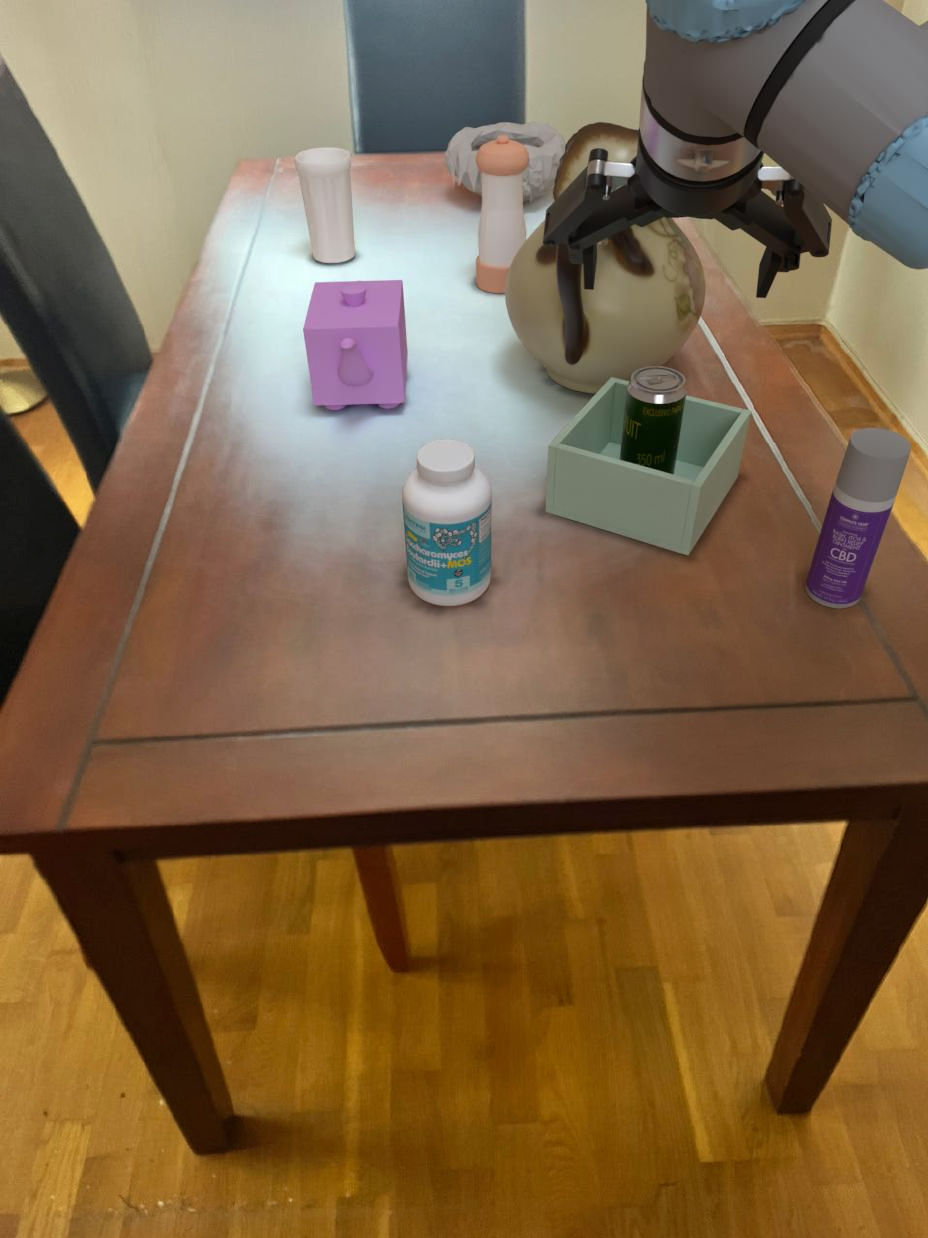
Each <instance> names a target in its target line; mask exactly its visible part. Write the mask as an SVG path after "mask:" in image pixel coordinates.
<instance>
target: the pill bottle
mask: <svg viewBox="0 0 928 1238" xmlns="http://www.w3.org/2000/svg"><path fill="white" fill-rule="evenodd" d="M401 488H402V489H401V490H402V491H401V499H402V501H401V502H402V513H403V514H402V515H403V527H404V541H405V542H404V543H405V554H406V556H405V557H406V571H407V572H406V573H407V581H408V585H409V587H410V589H411V591H412V592H413V593H414V595H416V596H417V597H418V598H419V599H421V600H423V601H424V602H427V603H429V604H431V605H436V606H443V607H456V606H462V605H465V604H468V603H471V602H473V601H475V600H477V599H479V597H481V596H482V595H483V594H484V593H485V592H486V591H487V589H488V588H489V585H490V583H491V578H492V511H493V509H492V508H493V507H492V505H493V504H492V503H493V501H492V500H493V499H492V496H493V493H492V484H491V482H490V480H489V477H488V476H487V475H486V474H485V472H484V471H483V470H482V469H480V468H479V467H478V466H477V465H476V454H475V451H474V449H473V448H472V447H471V445H469V444H468V443H466V442H464V441H461V440H458V439H452V438H441V439H434V440H431V441H429V442H427V443H425V444H423V445H422V446H420V448H419V449H418V450H417V453H416V467H415V468H414V469H413V470H412V471H411V472H410V473H408V476H407V477H406V478H405V480H404V482H403V485H402V487H401Z"/></svg>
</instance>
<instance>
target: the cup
mask: <svg viewBox="0 0 928 1238" xmlns="http://www.w3.org/2000/svg"><path fill="white" fill-rule="evenodd" d="M293 162H294V166H295V170H296V171H297V175H298V180H299V185H300V190H301V197H302V202H303V205H304V206H303V208H304V212H305V218H306V223H307V224H306V225H307V229H308V234H309V240H310V246H311V250H312V256H313V258H314V260H316V261H318V262H320V263H326V264H336V263H337V264H338V263H342V262H343V263H344V262H347V261H349V260H352V259H353V258H354V257H355V255H356V248H355V231H354V230H355V229H354V228H355V227H354V209H353V191H352V175H351V167H352V153H351V152H350V151H348V150H347V149H344V148H341V147H333V146H331V147H329V146H328V147H327V146H324V147H314V148H307V149H305V150H302V151H299V152H298V153H297V154H295V156H294V159H293Z"/></svg>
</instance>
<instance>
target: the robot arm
mask: <svg viewBox="0 0 928 1238" xmlns="http://www.w3.org/2000/svg"><path fill="white" fill-rule="evenodd" d="M645 4H646V14H645V15H646V16H645V20H646V21H645V57H644V62H643V73H642V77H641V90H640V91H641V93H640V104H639V105H640V107H639V108H640V109H639V123H638V125H639V126H638V130H639V132H638V146H637V155H636V156H635V157H634V158H633V159H632V160H631V162H630V164H629V163H618V162H613V161H608V151H607V150H605V149H602V148H595V149H593V150H591V151H590V154H589V159H588V165H587V167H586V168H585V169H584V170H583V171H582V172H581V173H580V174H579V175H578V176H577V178H576V179H575V180H574V181H573V182H572V183H571V184H570V185H569V186H568V187H567V188H566V189H565V190H564V191H563V193H562V194H561V195H560V196H559V197H558V198H557V199H556V200H555V201H554V200H553V202H552V203H551V204H550V205H549V206H548V207H547V208H546V210H545V218H544V220H545V226H544V235H543V244H544V245H545V246H548V247H555V246H558V245H559V244H560V243H565V244H566V245H568V247H567V248H568V249H569V261H570V262H571V263H573V264H583V268H584V289H588V290H594V282H595V272H596V263H597V243H598V242H600V241H602V240H604V239H606V238H608V237H610V236H612V235H614V234H616V233H618V232H620V231H622V230H624V229H626V228H628V227H630V226H633V225H637V226H639V227H644V226H646V225H648V224H650V223H653V222H655V221H657V220H659V219H661V218H663V217H666V218H673V219H679V218H693V219H699V220H716V221H717V222H718V223H720V224H722V225H723V226H725V228H727V229H729V230H730V231H736V230H742V232H744V233H746V234H747V235H748V236H750V237H751V238H753V239H755V240H756V241H757V242H758V243H760V244H762V245H763V246H765V249H764V251H763V254H762V256H761V259H760V261H759V264H758V276H757V283H756V284H757V285H756V292H755V298H756V299H757V298H758V299H767V297H768V294H769V293H770V290H771V287H772V285H773V284H774V281H775V279H776V276H777V274H778V273H789V272H792V271H797V270H799V269H800V267H801V266H800V264H801V256H802V255H801V254H805V253H809V254H810V256H811V257H814V258H825V257H827V256H828V255H829V254H830V246H831V245H830V244H831V235H832V224H833V223H832V222H833V218H832V216H831V215H830V212H829V211H828V210H827V209H830V210H831V211H832V212H833V213H834V214H835V215H837V216H838V217H839V218H840V219H841V220H843V222H845V223H846V224H847V225H848V226H849V228H850V229H851V231H852V233H853V234H855V236H857V237H859V238H861V240H863V241H866V242H870V243H872V244H873V245H874V246H876V247H878V248H879V249H880V250H882V251H883V252H885V253H886V254H887V255H889V256H890V257H892V258H893V259H895V260H897V261H898V262H899V263H901V264H902V265H903V266H906V268H909V269H913V270H927V269H928V20H926V21H925V22H923V23H921V24H920V25H919V24H917V23H916V22H914V21H913V20H911V19H910V18H909V17H908V16H906V15H905V14H903V13H902V12H900V11H899V10H898V9H896V8H895V7H894V6H893V5H890V4H889V3H888V2H886V1H885V0H645ZM765 155H766V156H767V157H769V159H771V160H772V161H773V162H774V163H776V165H777V166H776V165H774V166H771V165H770V166H764V163H763V158H764V156H765ZM621 185H623V186H621ZM618 186H621V187H619V188H618V189H616V188H617V187H618ZM615 189H616V190H615ZM762 189H763V190H768V191H769V192H770V193H771V195H772V196H774V197H775V199H774V198H772V197H771V196H770V195H769V194H767V193H766V192H764V191H763V190H762ZM613 190H614V191H613ZM611 191H612V192H611Z"/></svg>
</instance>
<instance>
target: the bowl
mask: <svg viewBox="0 0 928 1238" xmlns="http://www.w3.org/2000/svg"><path fill="white" fill-rule="evenodd" d="M500 135H506V136H508V138H509V140H514V141H516V142H519V143H521V144H523V145H524V146H525V147H526V149H527V151H528V153H529V158H530V161H529V164H528V166H527V168H526V169H525V170H524V171H523V203H525V202H528V201H529V203H532V202H533V199H537V198H539V197H542V196H543V195H544V194H545V193H546V192H547V191H548V190H550V189H551V188H552V187H554V184H555V178H556V172H557V169H558V168H559V164H560V162H559V160H560V158H561V157H562V156H563V154H564V153H565V146H566V143H567V142H566V139H565V136H564V134H562V133H561V132H559V131H558V130H557V129H556V128H555V127H554V126H553V125H552V124H550V122H546V123H539V122H536V121H529V122H526V123H523V124H521V123H515V122H508V121H507V122H506V121H505V122H504V121H503V122H497V123H495V124H490V123H489V124H488V125H482V126H478V127H476V128H475V127H471V126H470V127H469V126H465V127H463V128H462V129H460V130H459V131H458V132H456V133H455V134H454V136H452V138H451V140H449V141H448V144H447V149H446V151H445V152H444V159H445V165H446V168H447V172H448V173H449V177H450V178H452V179H451V181H452V188H453V189H455V178H456V179H457V185H458V186H460V185H461V184H462V185H463V186H464V187H465V188H466V189H467V190H468V191H470V192H472V193H473V194H475V195H477V196H480V197H481V198H482V172H481V171H480V170H479V169H478V167H477V164H476V154H477V152H478V150H479V148H480V147H481V146H482V145H484V144H486V143H488V142H490V141H493V140H496V139H497V137H498V136H500ZM455 176H456V177H455Z"/></svg>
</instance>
